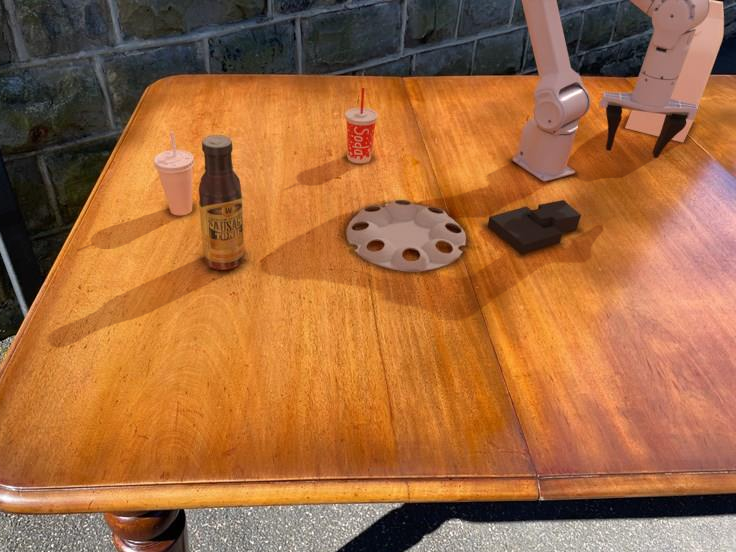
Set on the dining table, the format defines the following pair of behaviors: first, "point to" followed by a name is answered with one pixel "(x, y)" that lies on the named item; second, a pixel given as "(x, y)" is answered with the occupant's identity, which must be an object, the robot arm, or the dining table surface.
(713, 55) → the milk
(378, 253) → the paint palette
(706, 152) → the dining table surface
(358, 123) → the beverage cup
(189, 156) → the smoothie
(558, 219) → the black notched block
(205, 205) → the sauce bottle
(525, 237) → the black pad
